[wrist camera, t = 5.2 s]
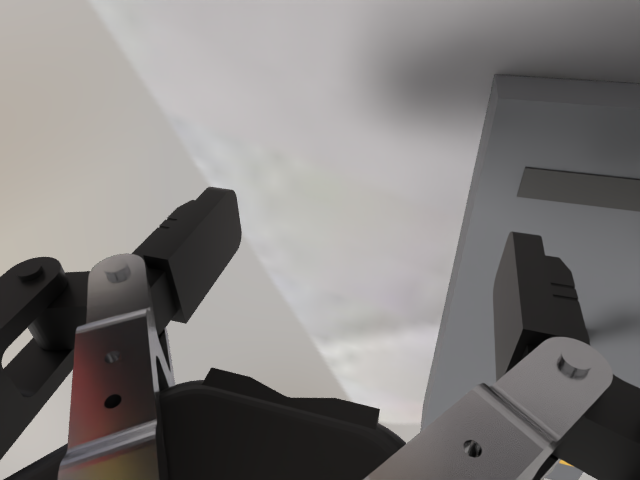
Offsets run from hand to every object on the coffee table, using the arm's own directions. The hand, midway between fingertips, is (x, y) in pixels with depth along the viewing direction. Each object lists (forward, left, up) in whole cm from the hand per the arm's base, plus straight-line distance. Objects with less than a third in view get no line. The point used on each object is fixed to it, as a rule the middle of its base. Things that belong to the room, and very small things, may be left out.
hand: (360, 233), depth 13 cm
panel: (+8, +8, -9) cm, 14 cm away
